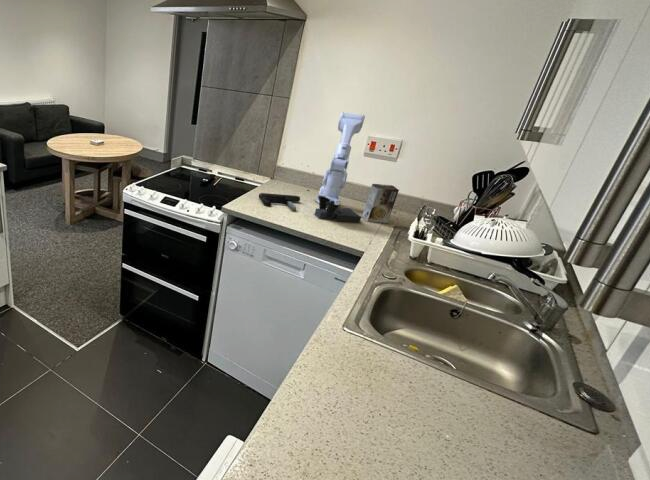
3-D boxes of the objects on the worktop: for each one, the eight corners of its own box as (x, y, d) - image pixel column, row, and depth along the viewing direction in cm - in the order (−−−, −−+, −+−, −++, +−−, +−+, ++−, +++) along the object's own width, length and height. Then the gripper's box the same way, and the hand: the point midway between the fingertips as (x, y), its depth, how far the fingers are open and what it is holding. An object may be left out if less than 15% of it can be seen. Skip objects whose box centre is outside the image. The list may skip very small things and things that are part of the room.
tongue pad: (314, 214, 179) (316, 208, 178) (333, 215, 180) (335, 209, 179) (319, 218, 175) (321, 212, 173) (339, 219, 175) (341, 213, 174)
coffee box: (381, 218, 182) (392, 185, 175) (387, 223, 176) (400, 189, 169) (361, 216, 182) (372, 183, 176) (367, 221, 176) (378, 187, 170)
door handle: (309, 207, 180) (298, 194, 194) (266, 204, 180) (258, 191, 194) (307, 214, 182) (296, 200, 196) (264, 210, 181) (256, 197, 196)
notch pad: (327, 213, 182) (328, 207, 181) (347, 214, 183) (349, 208, 182) (337, 221, 173) (339, 215, 172) (359, 223, 174) (361, 216, 172)
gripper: (317, 180, 178) (309, 207, 183) (332, 190, 164) (324, 220, 170) (331, 181, 178) (324, 208, 184) (348, 191, 165) (339, 220, 170)
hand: (325, 214), depth 177 cm, fingers open, 6 cm apart
